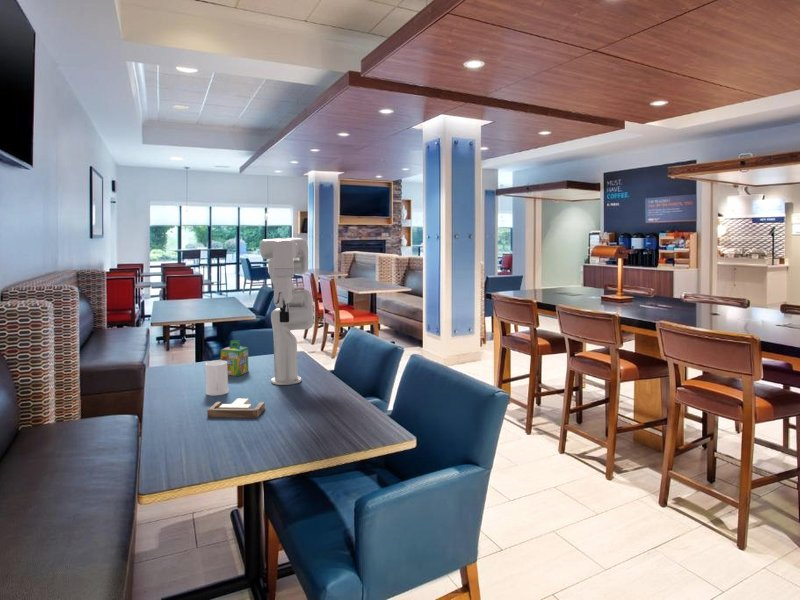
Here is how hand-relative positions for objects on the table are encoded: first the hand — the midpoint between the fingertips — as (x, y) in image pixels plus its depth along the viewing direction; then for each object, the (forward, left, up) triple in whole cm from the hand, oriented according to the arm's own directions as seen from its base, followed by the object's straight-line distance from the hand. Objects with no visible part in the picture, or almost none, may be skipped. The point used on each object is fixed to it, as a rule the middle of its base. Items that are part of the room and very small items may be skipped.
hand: (284, 321), depth 197 cm
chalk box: (-35, -31, -29) cm, 55 cm away
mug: (-4, -28, -29) cm, 41 cm away
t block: (+16, -13, -29) cm, 36 cm away
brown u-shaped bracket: (+18, -13, -29) cm, 37 cm away
